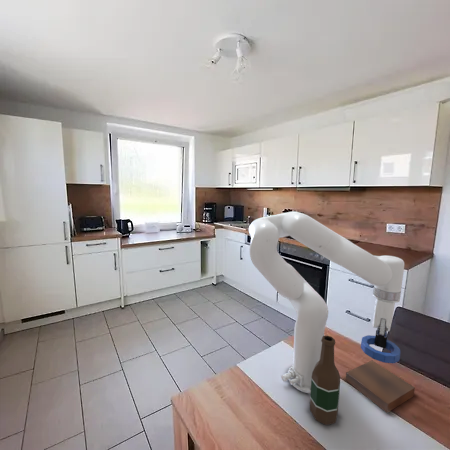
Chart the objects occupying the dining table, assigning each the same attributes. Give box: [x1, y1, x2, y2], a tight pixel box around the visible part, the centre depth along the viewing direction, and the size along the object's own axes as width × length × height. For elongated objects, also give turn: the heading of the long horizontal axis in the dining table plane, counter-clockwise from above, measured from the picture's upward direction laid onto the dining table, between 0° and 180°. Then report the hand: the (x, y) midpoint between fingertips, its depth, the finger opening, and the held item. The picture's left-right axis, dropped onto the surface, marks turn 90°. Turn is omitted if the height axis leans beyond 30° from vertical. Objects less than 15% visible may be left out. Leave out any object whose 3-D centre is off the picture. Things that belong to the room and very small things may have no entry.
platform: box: [345, 359, 416, 414], centre depth 81 cm, size 14×14×3 cm
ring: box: [360, 334, 401, 364], centre depth 79 cm, size 11×11×2 cm
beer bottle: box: [309, 335, 341, 426], centre depth 70 cm, size 8×8×24 cm
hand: (380, 344), depth 83 cm, fingers closed on ring, 2 cm apart
